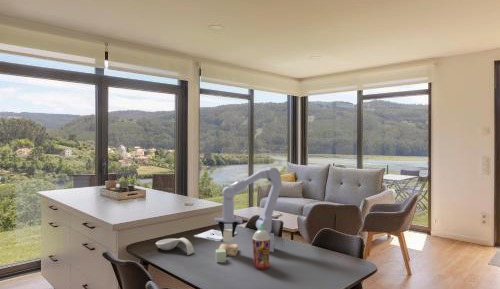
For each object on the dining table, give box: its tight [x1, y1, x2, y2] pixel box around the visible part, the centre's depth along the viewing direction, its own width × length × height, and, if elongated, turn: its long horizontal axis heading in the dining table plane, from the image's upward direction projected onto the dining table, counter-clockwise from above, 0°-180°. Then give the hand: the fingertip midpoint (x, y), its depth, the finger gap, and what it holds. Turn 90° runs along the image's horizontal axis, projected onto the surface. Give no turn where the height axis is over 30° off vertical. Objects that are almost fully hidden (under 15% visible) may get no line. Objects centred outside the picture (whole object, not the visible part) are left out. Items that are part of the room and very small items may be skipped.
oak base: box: [218, 243, 239, 257], centre depth 178 cm, size 9×9×3 cm
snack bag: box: [193, 229, 238, 242], centre depth 210 cm, size 19×20×2 cm
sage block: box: [215, 248, 227, 263], centre depth 166 cm, size 4×4×5 cm
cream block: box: [223, 228, 234, 242], centre depth 177 cm, size 4×4×5 cm
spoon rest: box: [155, 237, 195, 256], centre depth 182 cm, size 24×12×7 cm, turn 57°
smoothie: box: [251, 224, 271, 270], centre depth 157 cm, size 8×8×20 cm
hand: (228, 236), depth 178 cm, fingers closed on cream block, 4 cm apart
